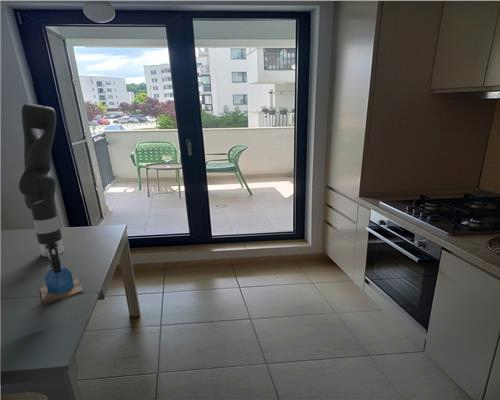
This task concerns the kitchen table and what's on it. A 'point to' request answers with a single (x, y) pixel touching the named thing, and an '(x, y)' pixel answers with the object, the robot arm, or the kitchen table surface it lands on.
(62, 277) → the perfume bottle
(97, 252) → the kitchen table surface
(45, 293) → the walnut board
